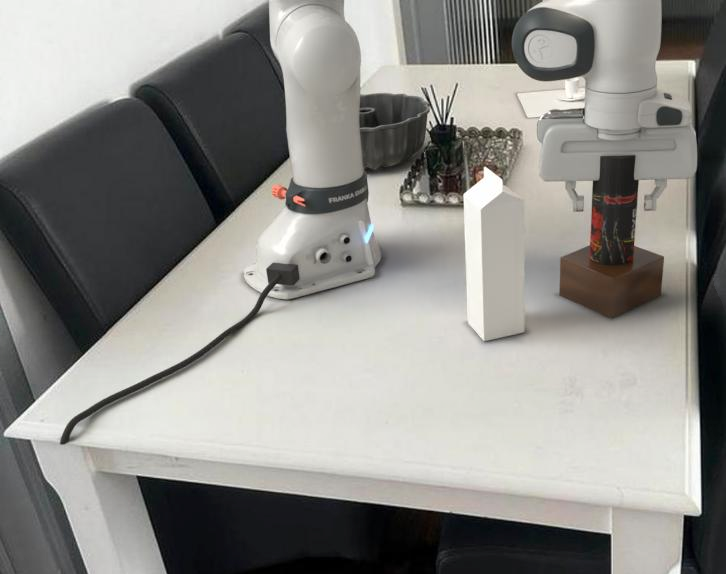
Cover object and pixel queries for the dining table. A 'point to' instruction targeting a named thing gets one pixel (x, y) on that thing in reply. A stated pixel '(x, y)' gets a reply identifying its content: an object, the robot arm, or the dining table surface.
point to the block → (611, 281)
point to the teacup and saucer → (553, 99)
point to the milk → (494, 258)
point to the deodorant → (614, 211)
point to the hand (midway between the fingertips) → (613, 209)
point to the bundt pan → (391, 128)
